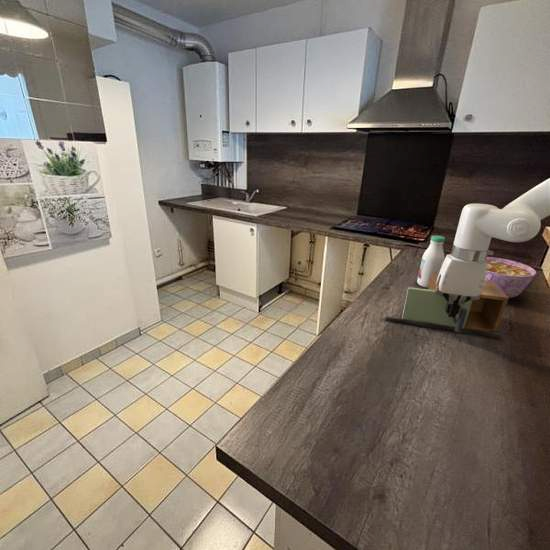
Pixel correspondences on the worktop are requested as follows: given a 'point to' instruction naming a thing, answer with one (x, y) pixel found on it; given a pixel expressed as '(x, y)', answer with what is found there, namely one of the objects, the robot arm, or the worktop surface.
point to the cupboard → (474, 311)
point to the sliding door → (433, 309)
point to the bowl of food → (509, 275)
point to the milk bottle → (431, 261)
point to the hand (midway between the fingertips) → (450, 315)
